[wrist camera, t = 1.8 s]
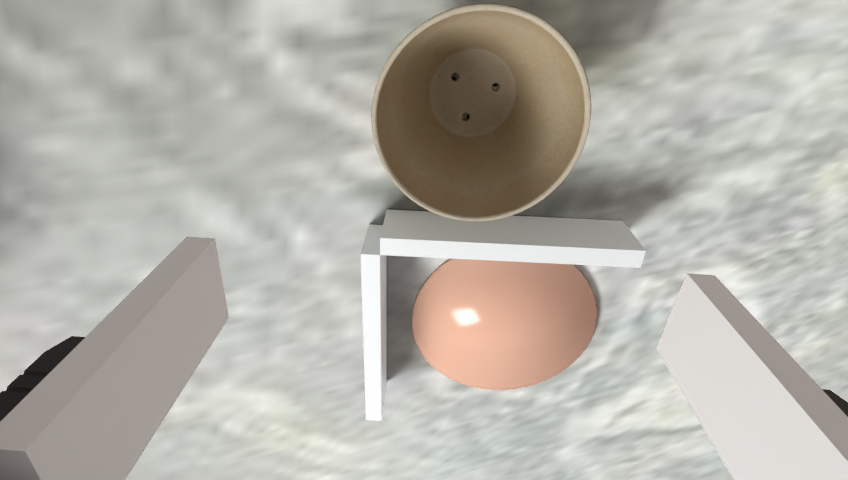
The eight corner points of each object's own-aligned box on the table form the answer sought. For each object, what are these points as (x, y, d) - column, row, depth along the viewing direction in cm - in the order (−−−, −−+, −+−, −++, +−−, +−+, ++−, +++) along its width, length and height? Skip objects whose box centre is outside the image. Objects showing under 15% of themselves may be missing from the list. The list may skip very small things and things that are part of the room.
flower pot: (445, -43, 24) (447, -52, 18) (592, 64, 26) (639, 90, 20) (357, 119, 28) (334, 158, 22) (490, 199, 31) (503, 254, 24)
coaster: (415, 238, 32) (414, 240, 32) (615, 247, 32) (617, 250, 32) (410, 382, 39) (409, 385, 39) (575, 390, 39) (576, 393, 39)
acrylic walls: (368, 208, 31) (360, 237, 28) (622, 220, 31) (645, 250, 28) (372, 380, 39) (366, 419, 36) (574, 390, 39) (588, 431, 36)
